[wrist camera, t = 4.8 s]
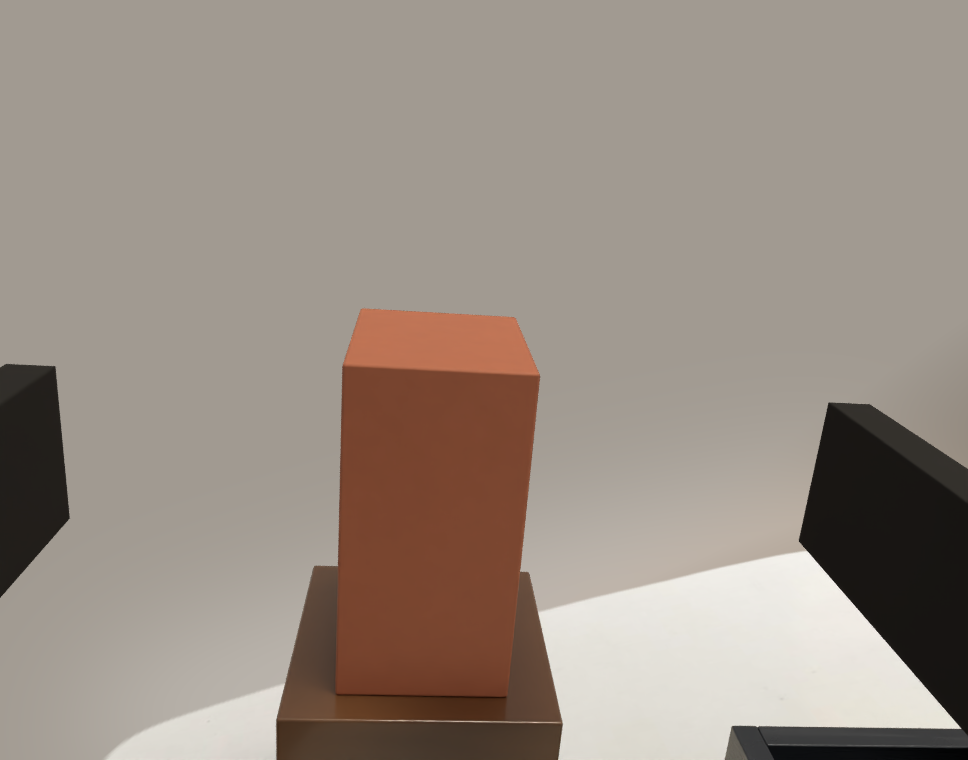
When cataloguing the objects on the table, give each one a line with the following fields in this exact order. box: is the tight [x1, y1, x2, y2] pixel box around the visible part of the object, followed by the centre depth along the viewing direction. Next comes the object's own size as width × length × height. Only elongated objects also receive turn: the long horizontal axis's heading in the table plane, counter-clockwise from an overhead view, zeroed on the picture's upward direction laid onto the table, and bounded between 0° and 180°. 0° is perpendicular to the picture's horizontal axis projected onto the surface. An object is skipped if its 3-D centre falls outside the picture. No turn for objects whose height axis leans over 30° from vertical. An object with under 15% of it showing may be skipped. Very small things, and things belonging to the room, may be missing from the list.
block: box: [335, 309, 540, 697], centre depth 25 cm, size 5×6×10 cm
